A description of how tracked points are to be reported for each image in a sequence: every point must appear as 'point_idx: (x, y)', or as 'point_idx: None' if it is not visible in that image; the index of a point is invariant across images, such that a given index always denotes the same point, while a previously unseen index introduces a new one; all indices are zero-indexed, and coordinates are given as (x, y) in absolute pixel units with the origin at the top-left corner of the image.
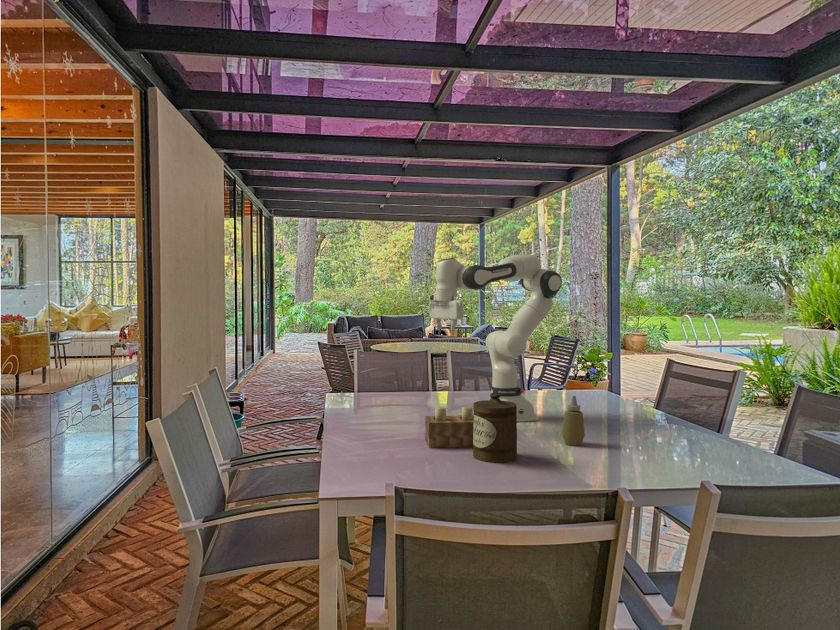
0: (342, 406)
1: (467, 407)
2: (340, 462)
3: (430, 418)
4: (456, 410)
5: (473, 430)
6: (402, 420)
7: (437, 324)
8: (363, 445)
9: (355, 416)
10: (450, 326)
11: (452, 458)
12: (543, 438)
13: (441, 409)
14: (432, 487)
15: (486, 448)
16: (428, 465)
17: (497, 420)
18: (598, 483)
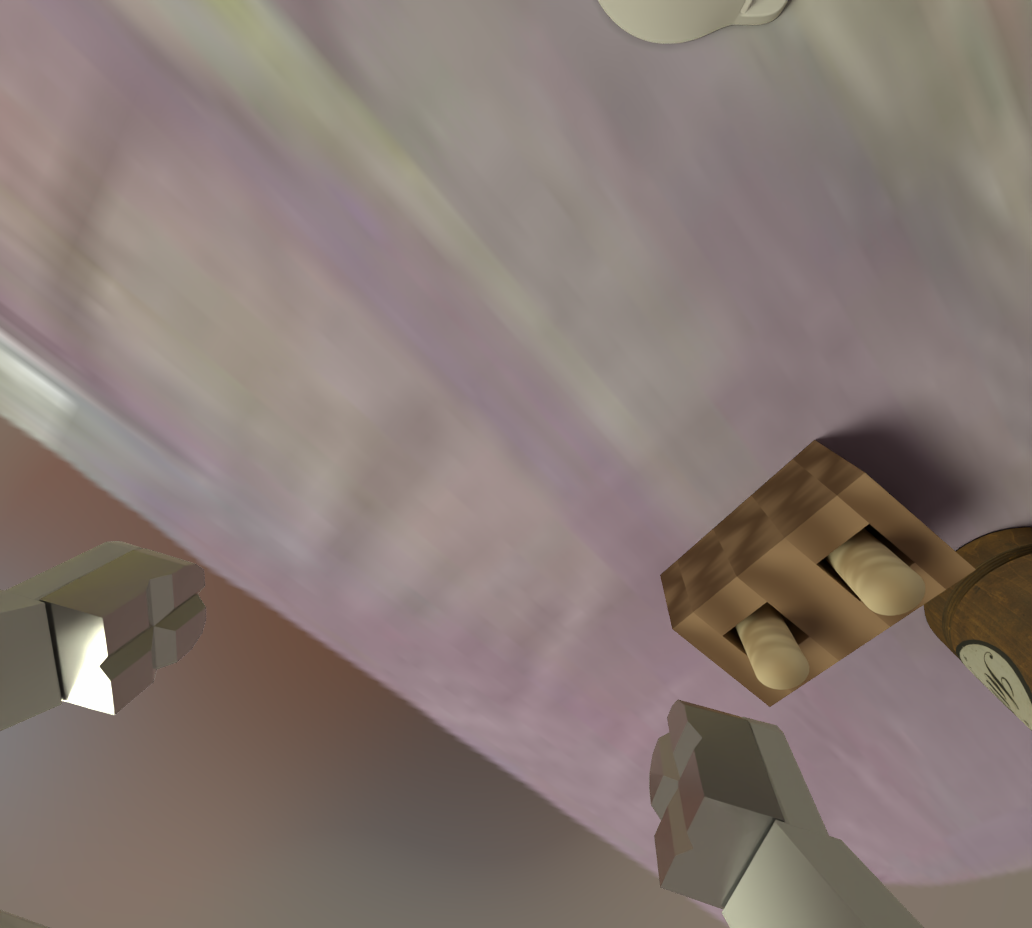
0: (36, 401)
1: (886, 581)
2: (649, 843)
3: (722, 650)
4: (349, 10)
5: (1006, 706)
6: (377, 413)
7: (35, 712)
8: (567, 724)
9: (223, 489)
10: (695, 890)
11: (883, 685)
12: None
13: (799, 684)
14: (976, 873)
15: None
16: (860, 765)
17: None
18: None
